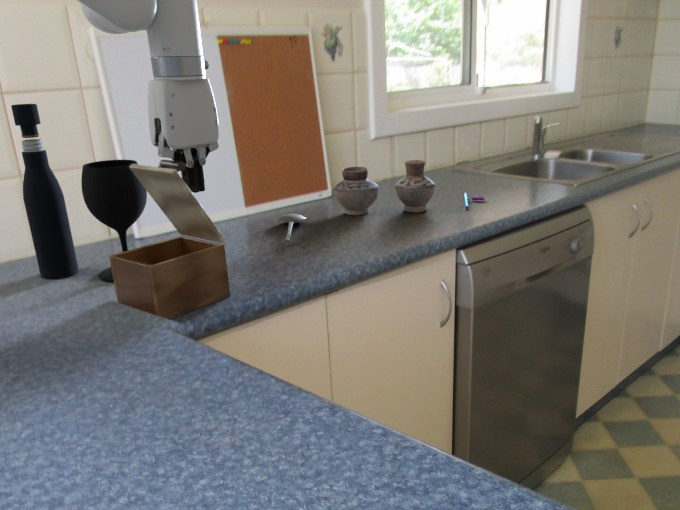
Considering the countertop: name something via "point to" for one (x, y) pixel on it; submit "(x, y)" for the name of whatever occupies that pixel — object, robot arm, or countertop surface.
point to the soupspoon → (290, 225)
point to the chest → (171, 276)
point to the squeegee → (472, 199)
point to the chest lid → (176, 199)
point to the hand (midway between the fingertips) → (194, 190)
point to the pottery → (363, 192)
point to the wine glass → (113, 198)
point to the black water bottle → (44, 202)
